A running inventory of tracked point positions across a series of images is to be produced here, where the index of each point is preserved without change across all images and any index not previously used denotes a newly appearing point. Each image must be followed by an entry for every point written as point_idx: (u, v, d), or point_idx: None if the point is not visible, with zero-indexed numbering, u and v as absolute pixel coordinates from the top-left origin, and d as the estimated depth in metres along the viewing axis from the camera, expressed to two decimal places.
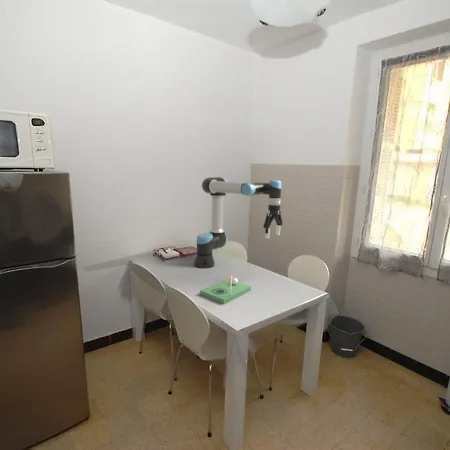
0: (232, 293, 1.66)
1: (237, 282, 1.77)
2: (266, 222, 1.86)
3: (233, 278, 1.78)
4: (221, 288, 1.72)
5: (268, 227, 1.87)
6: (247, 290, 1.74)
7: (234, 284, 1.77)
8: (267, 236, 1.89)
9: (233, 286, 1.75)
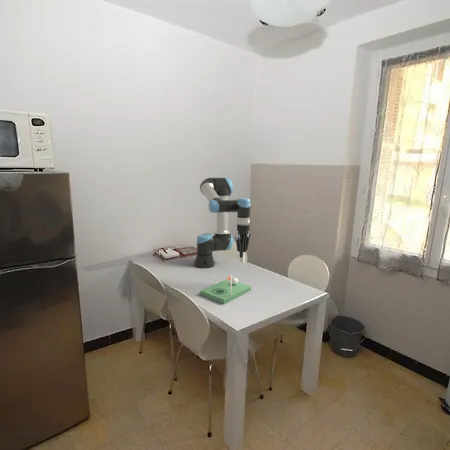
0: (232, 293, 1.66)
1: (237, 282, 1.77)
2: (238, 247, 1.76)
3: (233, 278, 1.78)
4: (221, 288, 1.72)
5: (242, 251, 1.78)
6: (247, 290, 1.74)
7: (234, 284, 1.77)
8: (242, 260, 1.80)
9: (233, 286, 1.75)
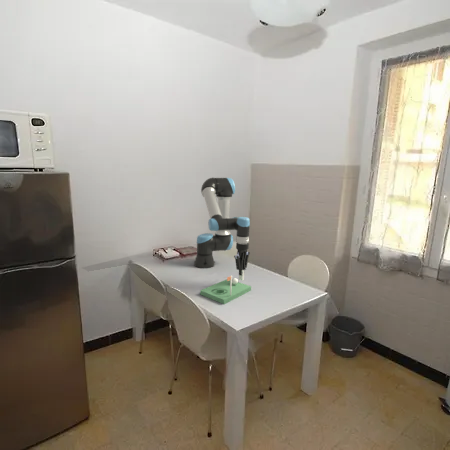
0: (232, 293, 1.66)
1: (237, 282, 1.77)
2: (237, 265, 1.78)
3: (233, 278, 1.78)
4: (221, 288, 1.72)
5: (241, 269, 1.80)
6: (247, 290, 1.74)
7: (234, 284, 1.77)
8: (241, 278, 1.82)
9: (233, 286, 1.75)
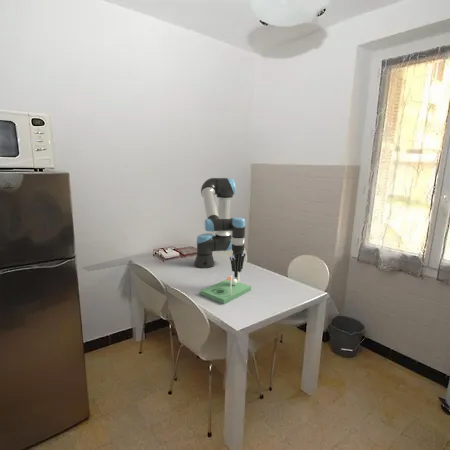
0: (232, 293, 1.66)
1: (236, 282, 1.76)
2: (233, 267, 1.74)
3: (232, 279, 1.77)
4: (221, 288, 1.72)
5: (237, 271, 1.76)
6: (247, 290, 1.74)
7: None
8: None
9: (233, 286, 1.75)
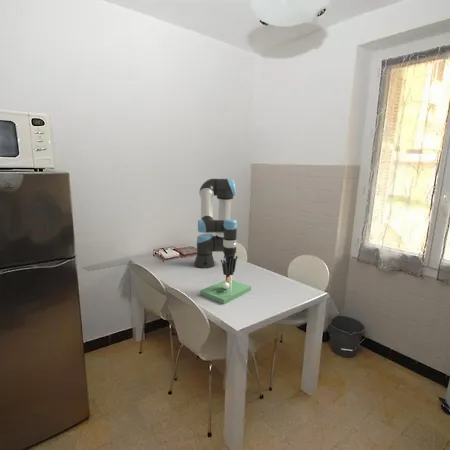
0: (232, 293, 1.66)
1: (228, 286, 1.70)
2: (224, 270, 1.68)
3: None
4: (221, 288, 1.72)
5: (229, 274, 1.70)
6: (247, 290, 1.74)
7: (226, 282, 1.71)
8: None
9: (233, 286, 1.75)
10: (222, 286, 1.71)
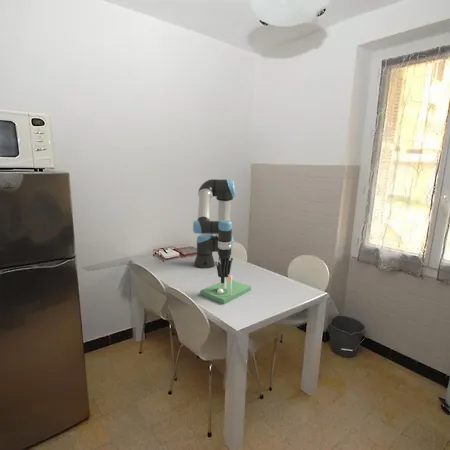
0: (232, 293, 1.66)
1: None
2: (219, 272, 1.65)
3: (217, 290, 1.68)
4: (221, 288, 1.72)
5: (223, 277, 1.67)
6: (247, 290, 1.74)
7: None
8: (223, 286, 1.69)
9: (233, 286, 1.75)
10: None
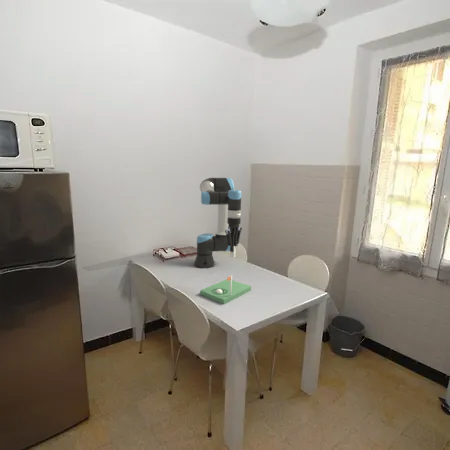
0: (232, 293, 1.66)
1: None
2: (228, 240, 1.69)
3: None
4: (221, 288, 1.72)
5: (233, 245, 1.71)
6: (247, 290, 1.74)
7: None
8: (232, 255, 1.73)
9: (233, 286, 1.75)
10: None
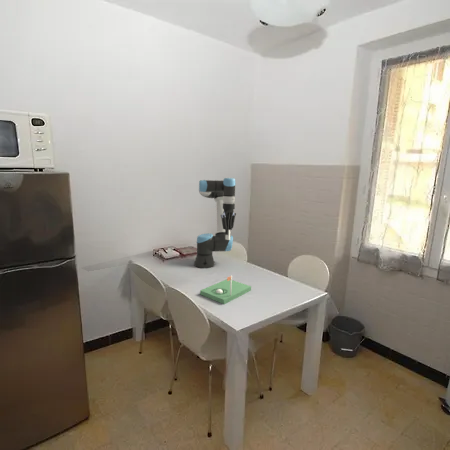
0: (232, 293, 1.66)
1: None
2: (224, 224, 1.85)
3: (216, 291, 1.67)
4: (221, 288, 1.72)
5: (228, 229, 1.87)
6: (247, 290, 1.74)
7: None
8: (227, 237, 1.89)
9: (233, 286, 1.75)
10: None
